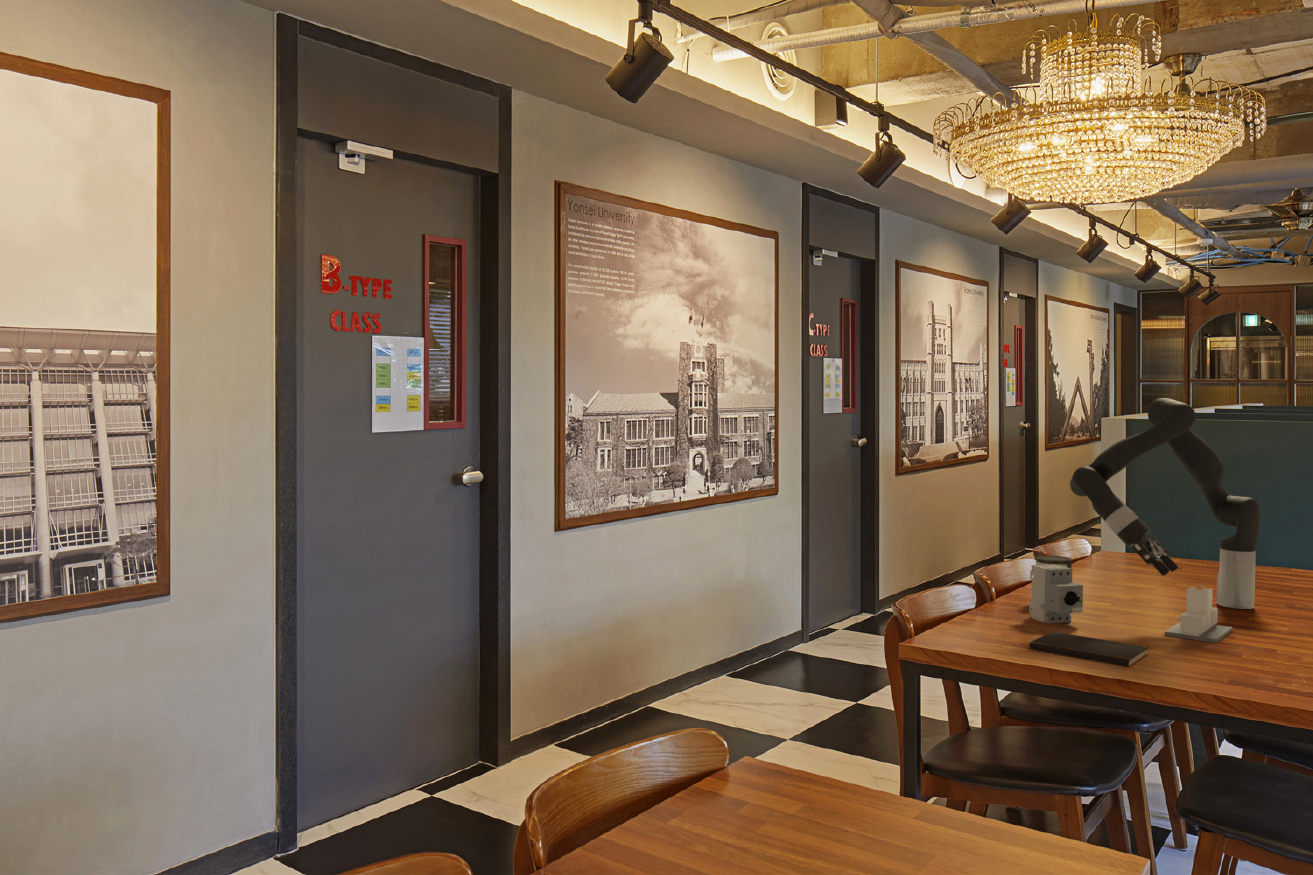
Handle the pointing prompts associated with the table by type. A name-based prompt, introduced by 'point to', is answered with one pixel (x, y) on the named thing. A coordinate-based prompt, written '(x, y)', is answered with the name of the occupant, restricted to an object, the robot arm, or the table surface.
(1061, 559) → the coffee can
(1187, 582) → the table surface
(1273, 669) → the table surface
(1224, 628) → the rail board
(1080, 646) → the hardcover book
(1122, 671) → the table surface
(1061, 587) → the circuit breaker
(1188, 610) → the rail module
